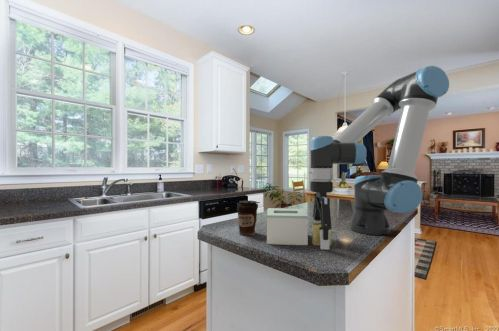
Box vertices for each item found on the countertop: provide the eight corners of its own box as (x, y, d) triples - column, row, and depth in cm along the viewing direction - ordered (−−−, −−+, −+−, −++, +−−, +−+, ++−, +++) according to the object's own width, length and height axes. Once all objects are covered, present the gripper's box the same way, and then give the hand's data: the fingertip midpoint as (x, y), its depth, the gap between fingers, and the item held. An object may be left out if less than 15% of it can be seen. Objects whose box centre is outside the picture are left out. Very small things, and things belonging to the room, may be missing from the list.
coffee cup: (255, 237, 91) (255, 203, 91) (234, 236, 93) (234, 202, 93) (259, 231, 100) (259, 200, 100) (240, 230, 102) (240, 199, 102)
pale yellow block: (329, 242, 85) (329, 223, 85) (331, 245, 82) (331, 225, 82) (311, 242, 86) (311, 222, 86) (313, 245, 83) (313, 224, 83)
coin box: (302, 233, 96) (302, 208, 96) (307, 245, 83) (307, 216, 83) (267, 232, 98) (267, 208, 98) (266, 243, 84) (266, 215, 84)
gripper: (305, 178, 96) (305, 233, 96) (316, 182, 73) (316, 255, 73) (324, 178, 95) (324, 234, 95) (342, 183, 72) (342, 256, 72)
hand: (321, 243), depth 84 cm, fingers open, 11 cm apart
